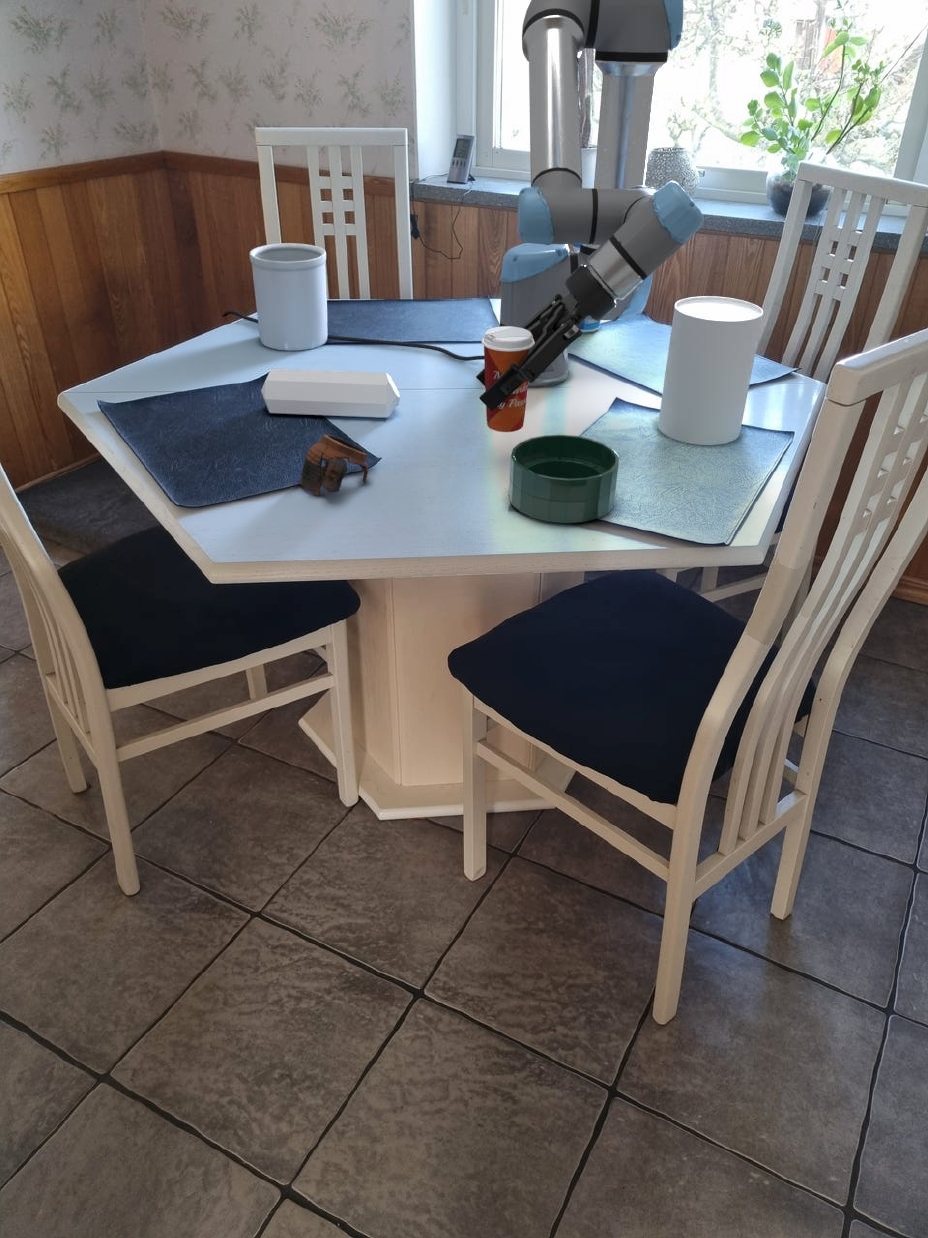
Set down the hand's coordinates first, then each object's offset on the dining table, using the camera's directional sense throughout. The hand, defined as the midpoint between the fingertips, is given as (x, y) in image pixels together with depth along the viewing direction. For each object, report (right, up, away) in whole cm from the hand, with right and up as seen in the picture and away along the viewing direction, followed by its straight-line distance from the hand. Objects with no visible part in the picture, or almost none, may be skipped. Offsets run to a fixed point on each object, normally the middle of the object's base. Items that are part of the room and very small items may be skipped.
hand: (484, 393), depth 139 cm
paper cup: (+3, -4, +3) cm, 6 cm away
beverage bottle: (+22, +29, +63) cm, 73 cm away
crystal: (-26, +2, +22) cm, 34 cm away
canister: (+37, -2, +18) cm, 41 cm away
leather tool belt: (-22, -14, -2) cm, 26 cm away
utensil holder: (-38, +24, +53) cm, 70 cm away
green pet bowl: (+11, -17, -5) cm, 20 cm away
